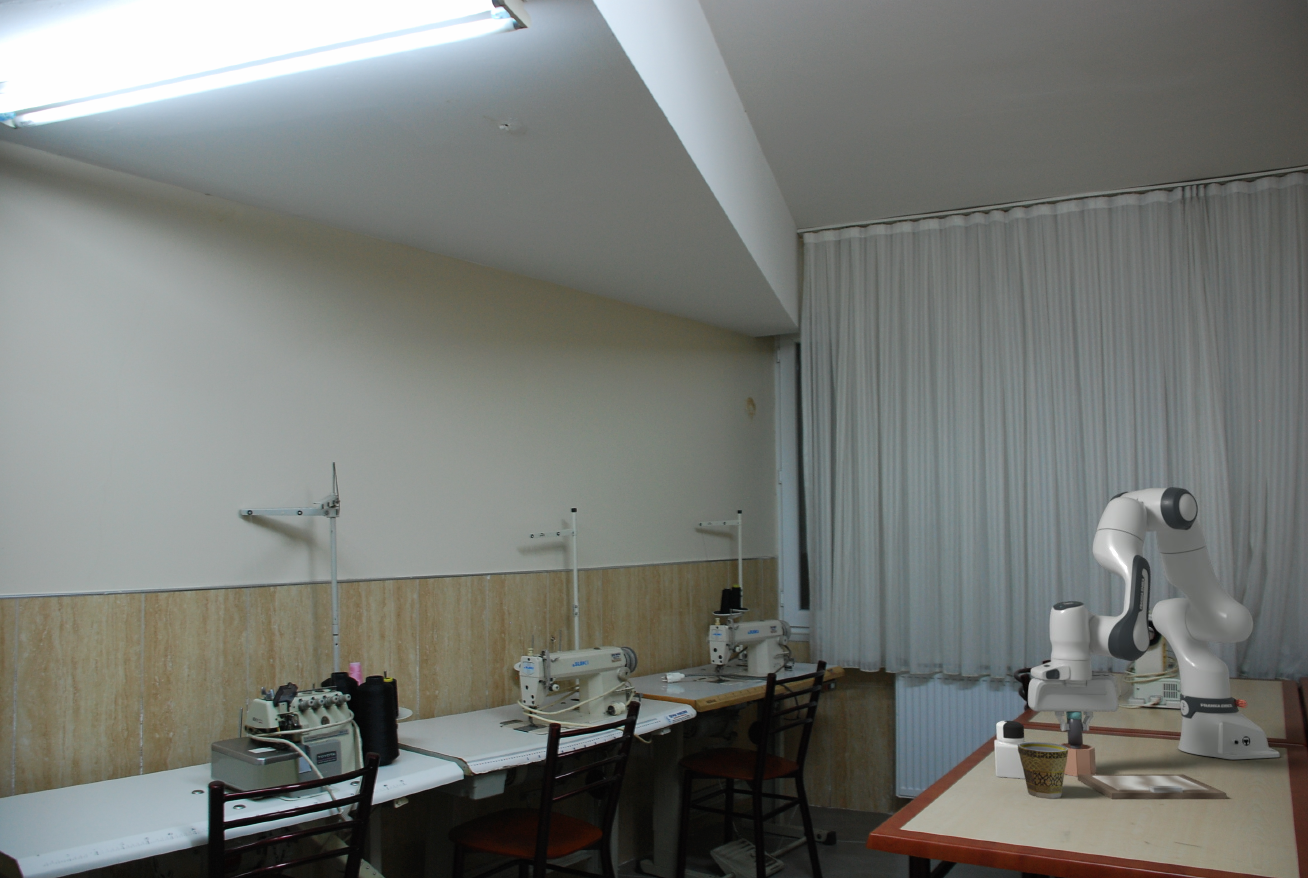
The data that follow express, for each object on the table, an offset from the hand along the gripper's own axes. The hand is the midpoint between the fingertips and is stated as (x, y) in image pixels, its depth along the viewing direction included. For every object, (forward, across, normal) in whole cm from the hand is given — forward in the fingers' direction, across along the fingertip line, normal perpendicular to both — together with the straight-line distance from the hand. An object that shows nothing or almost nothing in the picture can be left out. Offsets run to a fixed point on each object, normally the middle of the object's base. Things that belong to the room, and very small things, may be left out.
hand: (1074, 730), depth 218 cm
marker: (+4, 0, 0) cm, 4 cm away
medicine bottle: (+10, +16, +2) cm, 19 cm away
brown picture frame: (+10, -9, +15) cm, 20 cm away
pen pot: (+10, 0, 0) cm, 10 cm away
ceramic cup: (+10, +16, +18) cm, 26 cm away
